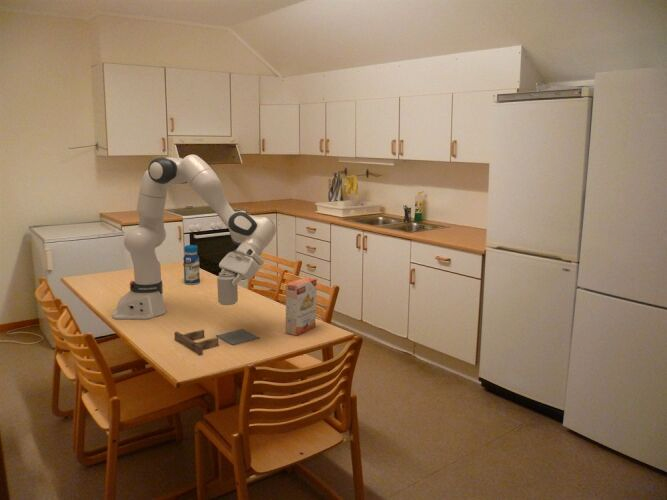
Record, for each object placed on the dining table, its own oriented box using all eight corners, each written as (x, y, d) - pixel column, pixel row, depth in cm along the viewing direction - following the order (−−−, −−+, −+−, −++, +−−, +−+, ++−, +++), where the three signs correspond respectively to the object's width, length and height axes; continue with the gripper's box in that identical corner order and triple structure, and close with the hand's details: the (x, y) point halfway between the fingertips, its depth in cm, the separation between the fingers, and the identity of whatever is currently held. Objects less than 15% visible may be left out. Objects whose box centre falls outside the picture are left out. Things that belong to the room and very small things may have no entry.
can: (219, 300, 221) (218, 270, 219) (238, 300, 222) (238, 270, 219) (216, 306, 214) (215, 275, 211) (236, 305, 214) (236, 275, 212)
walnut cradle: (199, 355, 205) (199, 347, 204) (174, 339, 219) (174, 332, 219) (224, 348, 211) (223, 341, 210) (198, 333, 226) (197, 326, 225)
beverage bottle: (193, 280, 306) (191, 243, 302) (203, 282, 302) (202, 245, 297) (180, 283, 300) (179, 246, 296) (191, 285, 295) (189, 248, 291)
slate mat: (232, 345, 215) (232, 343, 214) (216, 336, 223) (216, 335, 223) (259, 338, 222) (259, 336, 222) (242, 330, 231) (242, 328, 231)
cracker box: (297, 336, 225) (297, 285, 221) (284, 333, 228) (285, 283, 224) (316, 326, 237) (317, 278, 233) (304, 324, 240) (305, 276, 236)
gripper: (228, 244, 226) (207, 272, 222) (256, 253, 211) (234, 282, 206) (238, 254, 230) (217, 281, 225) (266, 263, 214) (245, 292, 210)
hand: (226, 282), depth 216 cm, fingers closed on can, 7 cm apart
